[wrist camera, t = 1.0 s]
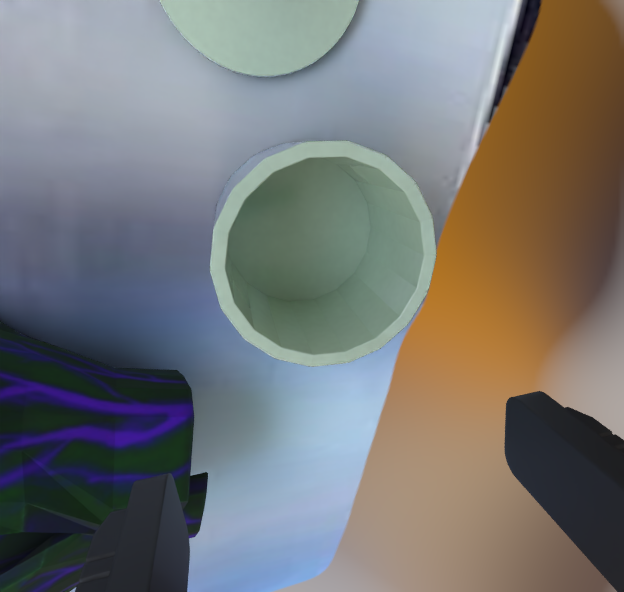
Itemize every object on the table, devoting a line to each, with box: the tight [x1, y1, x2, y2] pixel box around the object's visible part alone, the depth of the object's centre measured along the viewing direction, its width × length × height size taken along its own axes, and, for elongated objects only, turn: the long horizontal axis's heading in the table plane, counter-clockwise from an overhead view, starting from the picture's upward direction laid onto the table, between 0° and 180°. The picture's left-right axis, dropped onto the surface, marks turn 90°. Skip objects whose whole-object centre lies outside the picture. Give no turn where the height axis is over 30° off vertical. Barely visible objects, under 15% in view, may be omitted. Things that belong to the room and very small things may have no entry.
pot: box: [210, 140, 437, 367], centre depth 30 cm, size 13×13×10 cm
